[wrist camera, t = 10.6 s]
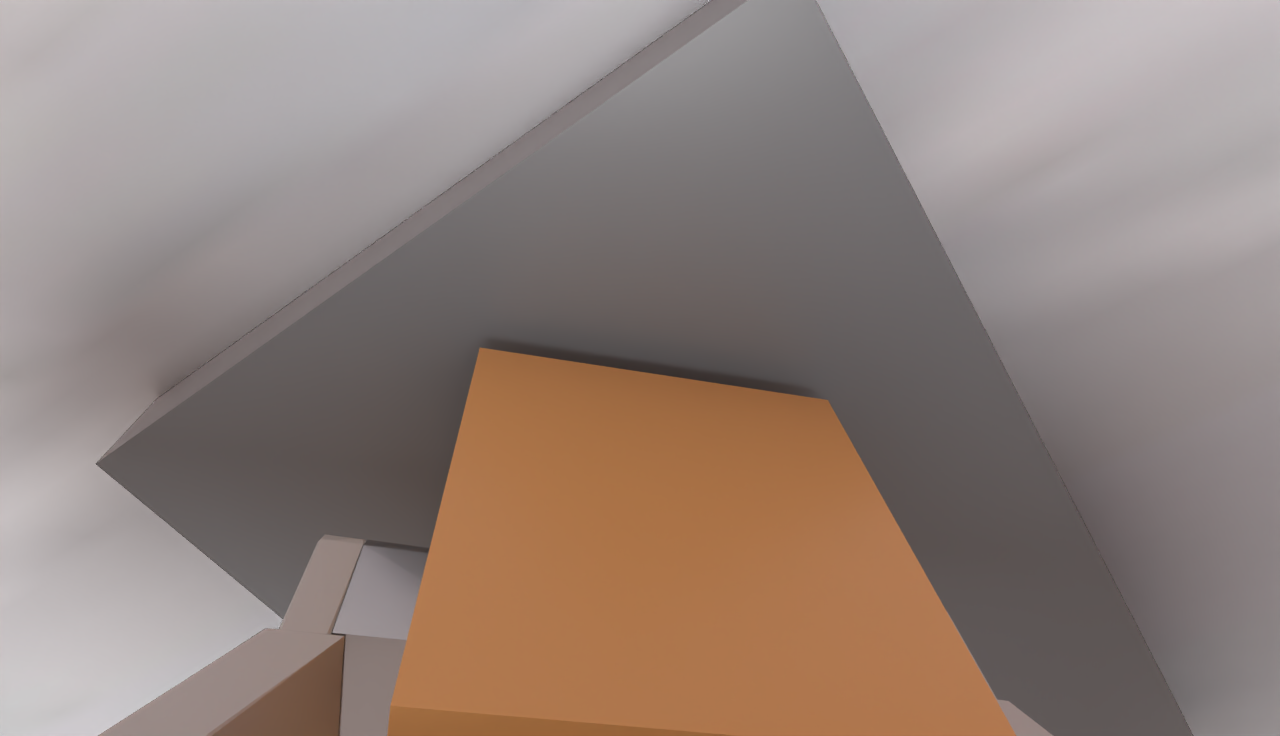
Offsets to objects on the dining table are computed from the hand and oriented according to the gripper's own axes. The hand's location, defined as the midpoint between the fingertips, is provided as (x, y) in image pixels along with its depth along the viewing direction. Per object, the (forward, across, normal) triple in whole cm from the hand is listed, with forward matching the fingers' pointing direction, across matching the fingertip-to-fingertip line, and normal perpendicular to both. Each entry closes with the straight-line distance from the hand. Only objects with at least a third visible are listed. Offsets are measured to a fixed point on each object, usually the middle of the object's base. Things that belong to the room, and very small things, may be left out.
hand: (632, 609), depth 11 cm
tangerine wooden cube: (+2, 0, 0) cm, 2 cm away
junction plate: (+5, -4, +4) cm, 7 cm away
